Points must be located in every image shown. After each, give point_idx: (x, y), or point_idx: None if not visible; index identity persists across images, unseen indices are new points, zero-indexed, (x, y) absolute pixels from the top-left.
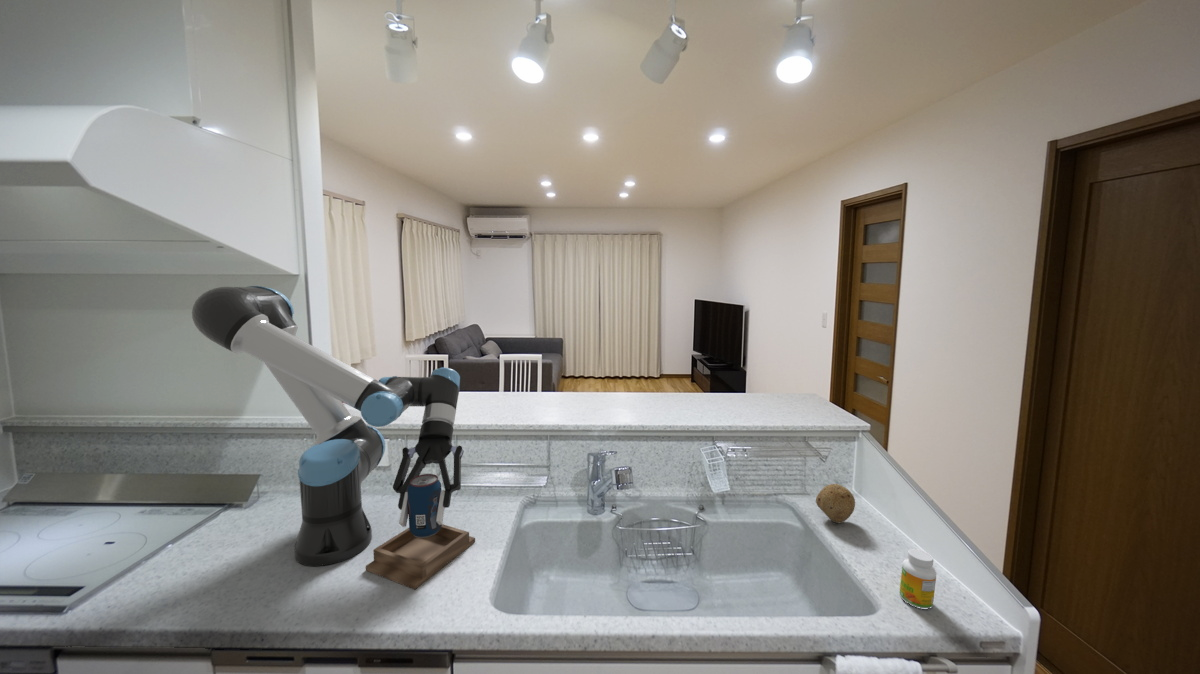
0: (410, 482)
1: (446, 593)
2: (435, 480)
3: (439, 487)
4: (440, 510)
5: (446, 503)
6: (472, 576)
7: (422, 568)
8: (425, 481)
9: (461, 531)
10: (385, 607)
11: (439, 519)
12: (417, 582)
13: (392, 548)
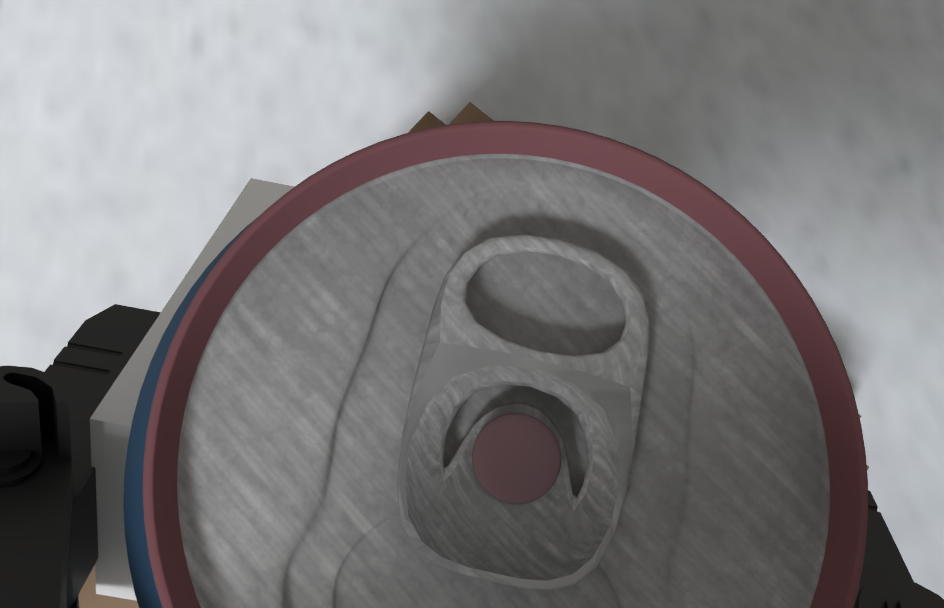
0: (838, 364)
1: (266, 29)
2: (220, 399)
3: (161, 342)
4: (225, 238)
5: (120, 322)
6: (84, 145)
7: (427, 115)
8: (472, 356)
9: (92, 581)
10: (616, 14)
11: (253, 189)
12: (456, 123)
13: None
